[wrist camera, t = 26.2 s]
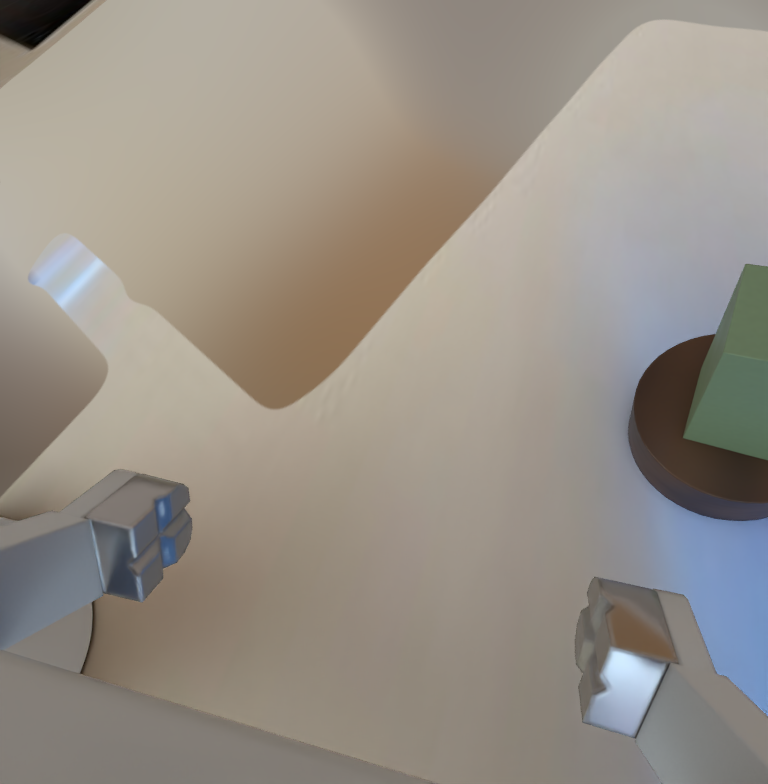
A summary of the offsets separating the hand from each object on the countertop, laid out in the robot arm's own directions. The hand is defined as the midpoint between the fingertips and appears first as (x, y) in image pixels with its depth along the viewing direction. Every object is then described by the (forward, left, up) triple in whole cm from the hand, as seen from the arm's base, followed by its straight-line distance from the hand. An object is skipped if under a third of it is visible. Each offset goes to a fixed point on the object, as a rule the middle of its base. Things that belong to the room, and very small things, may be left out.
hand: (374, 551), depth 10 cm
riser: (+8, +17, -27) cm, 33 cm away
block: (+9, +17, -23) cm, 30 cm away
